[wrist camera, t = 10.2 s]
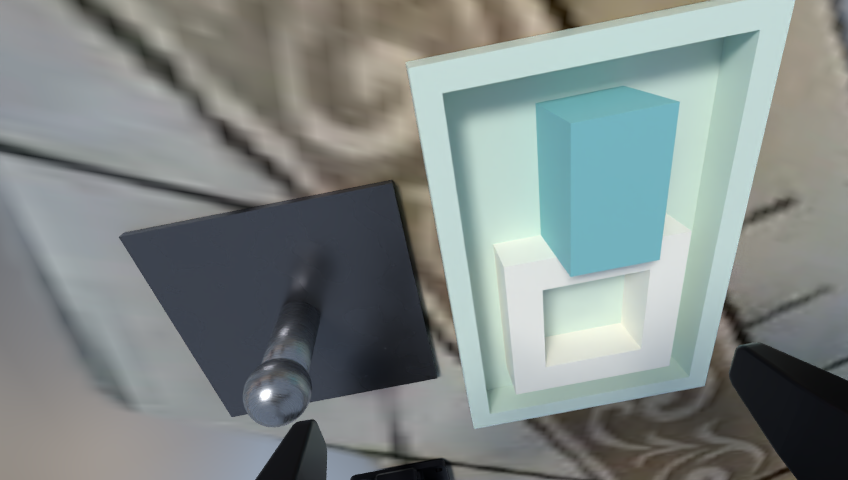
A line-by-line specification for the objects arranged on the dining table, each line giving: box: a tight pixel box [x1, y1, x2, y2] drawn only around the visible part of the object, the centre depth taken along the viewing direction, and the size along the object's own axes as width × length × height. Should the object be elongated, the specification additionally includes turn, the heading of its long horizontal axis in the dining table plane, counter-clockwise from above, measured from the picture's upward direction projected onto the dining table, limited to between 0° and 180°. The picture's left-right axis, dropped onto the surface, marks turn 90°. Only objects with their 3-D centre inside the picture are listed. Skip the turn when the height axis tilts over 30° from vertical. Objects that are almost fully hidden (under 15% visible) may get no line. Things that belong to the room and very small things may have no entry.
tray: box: [406, 0, 795, 429], centre depth 19 cm, size 19×13×2 cm
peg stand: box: [119, 180, 437, 427], centre depth 18 cm, size 12×12×6 cm
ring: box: [493, 86, 692, 395], centre depth 18 cm, size 14×8×4 cm, turn 10°
